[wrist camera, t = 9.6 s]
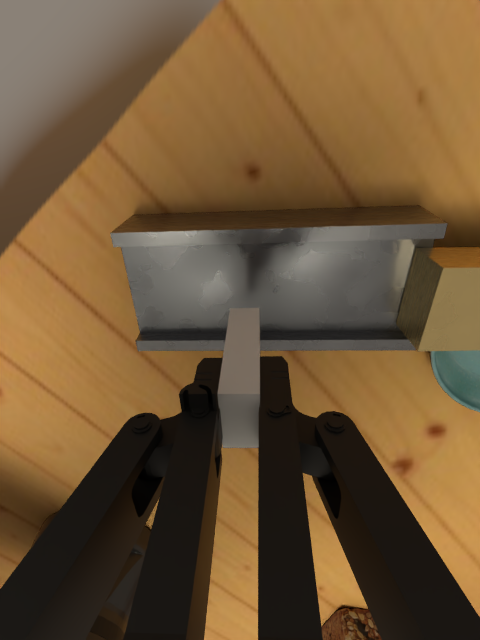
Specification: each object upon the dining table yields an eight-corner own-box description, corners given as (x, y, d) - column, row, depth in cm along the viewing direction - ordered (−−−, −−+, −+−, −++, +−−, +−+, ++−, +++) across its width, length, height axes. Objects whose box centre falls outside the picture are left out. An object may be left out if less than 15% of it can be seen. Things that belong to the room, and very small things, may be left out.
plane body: (154, 320, 27) (137, 350, 24) (133, 215, 23) (110, 233, 20) (396, 318, 26) (416, 350, 23) (419, 205, 22) (447, 223, 18)
